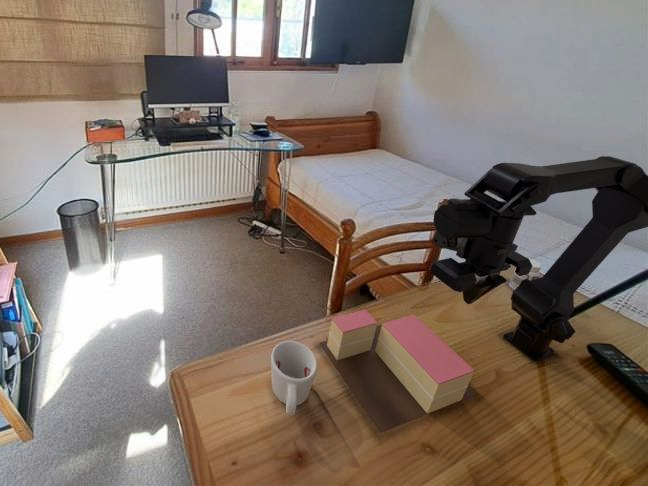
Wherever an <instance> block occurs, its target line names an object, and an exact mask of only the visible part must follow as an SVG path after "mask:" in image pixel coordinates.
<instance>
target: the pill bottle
mask: <svg viewBox="0 0 648 486" xmlns="http://www.w3.org/2000/svg"><path fill="white" fill-rule="evenodd" d="M527 258H528V259H529V260H530V262H531V264H532V268H531V270H530V272H529V274H526V275H523V276H518V275H517V274H516V273H515V270H516V268H514V271H513V273H512V276H511V278H510V280H509V287H510V288H511V289H512V290H513V291H514V290H515V289H516V288H517V287H518V286H519V285H520V283H521V282H522V280H524V279H529V280H533V279H537V278H540V276H541V272H540V271H541V269H542V264H541V263H540V262H539V261H537V260H535V259H533V258H529V257H527Z"/></svg>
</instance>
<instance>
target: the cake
mask: <svg viewBox="0 0 648 486" xmlns="http://www.w3.org/2000/svg"><path fill="white" fill-rule="evenodd" d="M381 325H382V327H381V330H380V334H379V337H378V341H377V345H376V349H375V352H376V353H377V354H378V355H379V357H380V358H381V359H382V360H383V361H384V363H385V364H386V365H387V366H388V367H389V368H390V370H391V371H392V372H393V373H394V374H395V376H396V377H397V378H398V379H399V380H400V382H401V383H402V384H403V385H404V386H405V388H406V389H407V390H408V391H409V392H410V394H411V395H412V396H413V397H414V398H415V400H416V401H417V402H418V403H419V404H420V406H421V407H422V408H423V409H424V410H425V412H426V413H427V414H426V415H428V413H429V414H431V413H434V412H436V411H438V410H441V409H443V408H446V407H449V406H451V405H454V404H456V403H459V402H460V400H461V401H463V400H462V398H463V395H464V393H465V391H466V389H467V387H468V385H469V384H470V382H471V379H472V377H473V375H474V373H475V369H473V367H472V366H470V365H469V363H467V362H466V361H465V360H464V359H463V358H462V357H461V356H459V355H458V353H456V352H455V351H454V350H453V349H452V348H451V347H450V346H449V345H448V344H447V343H446V342H445V341H444V340H442V339H441V338H440V337H439V335H437V334H436V333H435V332H433V330H432V329H431V328H429V327H428V326H427V325H426V324H425V322H423V321H422V320H421V319H420V318H419V317H418V316H417V315H415V314H410V315H407V316H403V317H399V318H397V319H393V320H389V321H385V322H383V323H381ZM455 402H456V403H455ZM450 404H451V405H450ZM445 406H446V407H445ZM440 408H441V409H440ZM435 410H436V411H435ZM433 411H434V412H433ZM430 412H431V413H430Z"/></svg>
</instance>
